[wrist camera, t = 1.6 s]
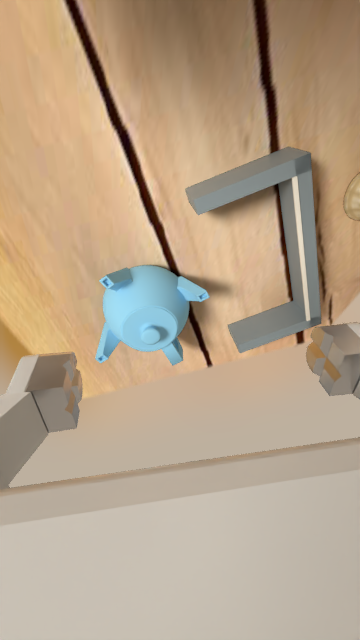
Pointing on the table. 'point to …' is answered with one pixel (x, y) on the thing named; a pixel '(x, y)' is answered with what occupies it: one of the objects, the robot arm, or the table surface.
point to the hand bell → (353, 199)
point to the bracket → (300, 238)
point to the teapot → (146, 310)
